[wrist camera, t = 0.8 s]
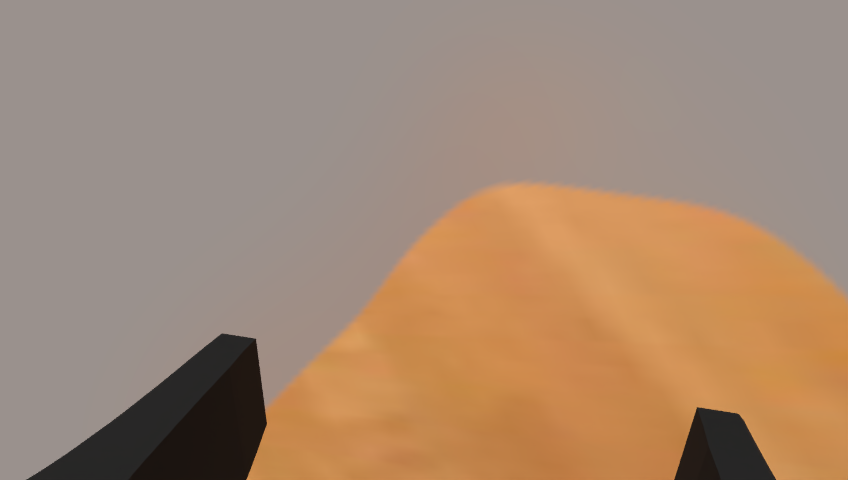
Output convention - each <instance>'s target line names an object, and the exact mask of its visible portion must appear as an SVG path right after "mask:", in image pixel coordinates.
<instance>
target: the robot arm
mask: <svg viewBox="0 0 848 480" xmlns="http://www.w3.org/2000/svg"><path fill="white" fill-rule="evenodd" d="M266 425H267V422H266V414H265V406H264V398H263V390H262V383H261V375H260V367H259V360H258V352H257V344H256V339H253V338H247V337H241V336H235V335H228V334H221V335H220V336H218V337H217V338H216V339H214V340H213V341H212V342H211V343H209V344H208V345H207V346H205V347H204V348H203V349H202V350H201V351H199V352H198V353H197V354H196V355H195V356H193V357H192V358H191V359H190V360H188V361H187V362H186V363H185V364H184V365H182V366H181V367H180V368H179V369H178V370H176V371H175V372H174V373H173V374H171V375H170V376H169V377H168V378H166V379H165V380H164V381H163V382H162V383H160V384H159V385H158V386H157V387H155V388H154V389H153V390H152V391H150V392H149V393H148V394H146V395H145V396H144V397H143V398H141V399H140V400H139V401H138V402H136V403H135V404H134V405H132V406H131V407H130V408H129V409H127V410H126V411H125V412H123V413H122V414H121V415H120V416H118V417H117V418H116V419H114V420H113V421H112V422H110V423H109V424H108V425H106V426H105V427H103V428H102V429H101V430H99V431H98V432H96V433H95V434H94V435H92V436H91V437H90V438H88V439H87V440H85V441H84V442H83V443H81V444H80V445H78V446H77V447H76V448H74V449H73V450H71V451H70V452H69V453H67V454H66V455H64V456H63V457H61V458H60V459H58V460H57V461H55V462H54V463H52V464H51V465H49V466H48V467H46V468H45V469H43V470H41V471H40V472H38V473H37V474H35V475H33V476H32V477H30V478H29V479H27V480H246V479H247V477H248V474H249V472H250V469H251V466H252V464H253V461H254V458H255V456H256V453H257V450H258V447H259V445H260V442H261V439H262V436H263V433H264V430H265V428H266ZM674 480H776V479H775V477H774V475H773V474H772V472H771V470H770V468H769V466H768V465H767V463H766V461H765V459H764V457H763V456H762V454H761V452H760V450H759V448H758V447H757V445H756V443H755V441H754V439H753V437H752V435H751V433H750V432H749V430H748V428H747V426H746V424H745V422H744V420H743V419H742V418H741V416H740V415H739V414H737V413H730V412H724V411H717V410H711V409H705V408H698V407H697V409H696V413H695V416H694V419H693V422H692V425H691V429H690V432H689V435H688V438H687V441H686V444H685V448H684V451H683V454H682V457H681V460H680V464H679V467H678V470H677V473H676V476H675V479H674Z"/></svg>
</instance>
